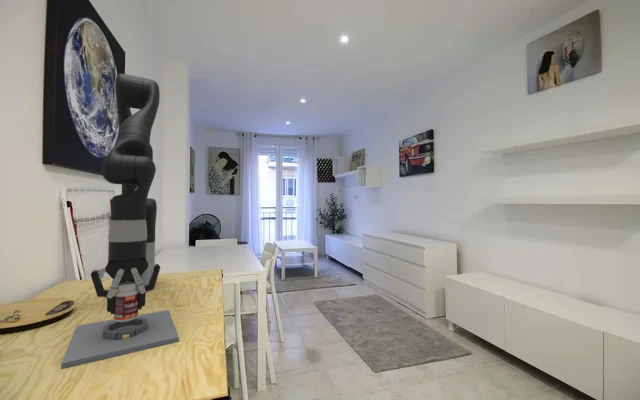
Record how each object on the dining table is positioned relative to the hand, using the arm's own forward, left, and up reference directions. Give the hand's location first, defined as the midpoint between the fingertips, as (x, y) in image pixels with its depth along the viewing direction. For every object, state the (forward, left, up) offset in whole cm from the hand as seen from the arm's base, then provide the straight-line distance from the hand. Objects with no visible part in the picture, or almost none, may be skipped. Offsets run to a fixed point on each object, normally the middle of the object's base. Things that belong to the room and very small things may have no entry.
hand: (126, 310), depth 67 cm
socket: (0, 0, -6) cm, 6 cm away
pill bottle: (0, 0, -2) cm, 2 cm away
